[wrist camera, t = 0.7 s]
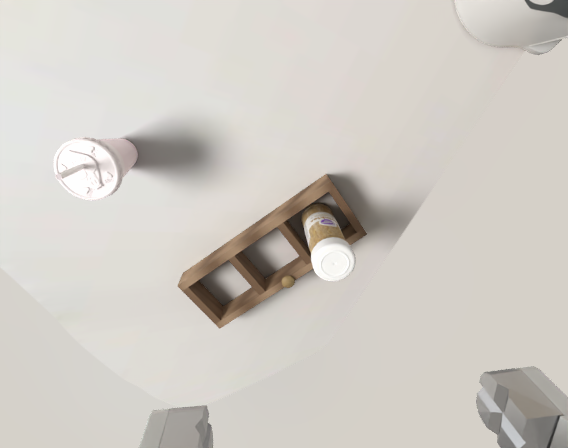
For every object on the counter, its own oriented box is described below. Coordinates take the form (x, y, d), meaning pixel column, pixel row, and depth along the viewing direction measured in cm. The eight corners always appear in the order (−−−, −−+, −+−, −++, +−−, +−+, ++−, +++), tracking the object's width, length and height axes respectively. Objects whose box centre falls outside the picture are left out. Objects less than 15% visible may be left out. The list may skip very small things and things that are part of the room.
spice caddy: (326, 173, 46) (331, 181, 43) (361, 226, 49) (369, 237, 46) (183, 273, 51) (176, 287, 47) (223, 315, 54) (221, 331, 50)
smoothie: (125, 117, 42) (64, 131, 29) (159, 161, 44) (116, 193, 31) (85, 144, 43) (8, 170, 30) (119, 187, 45) (62, 228, 32)
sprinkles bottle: (331, 200, 48) (355, 241, 35) (333, 230, 49) (357, 280, 37) (298, 204, 48) (311, 247, 35) (301, 234, 49) (314, 285, 37)
